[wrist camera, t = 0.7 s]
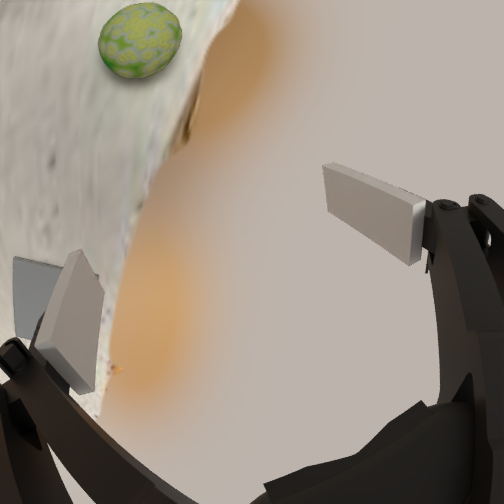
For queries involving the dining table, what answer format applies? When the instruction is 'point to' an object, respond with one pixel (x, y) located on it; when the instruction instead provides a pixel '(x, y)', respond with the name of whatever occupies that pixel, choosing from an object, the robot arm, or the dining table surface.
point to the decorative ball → (140, 40)
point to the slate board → (32, 293)
